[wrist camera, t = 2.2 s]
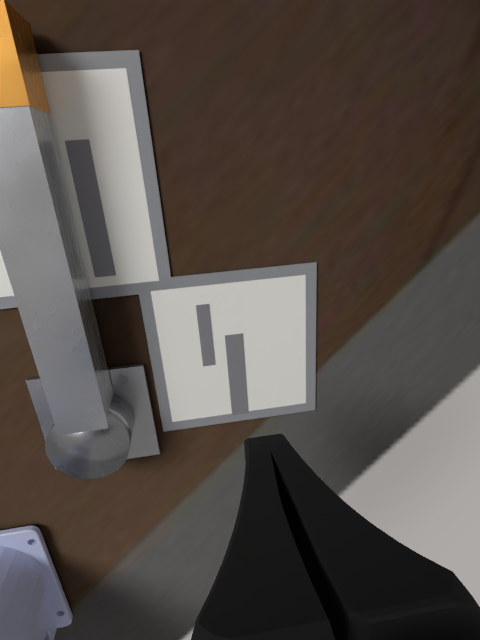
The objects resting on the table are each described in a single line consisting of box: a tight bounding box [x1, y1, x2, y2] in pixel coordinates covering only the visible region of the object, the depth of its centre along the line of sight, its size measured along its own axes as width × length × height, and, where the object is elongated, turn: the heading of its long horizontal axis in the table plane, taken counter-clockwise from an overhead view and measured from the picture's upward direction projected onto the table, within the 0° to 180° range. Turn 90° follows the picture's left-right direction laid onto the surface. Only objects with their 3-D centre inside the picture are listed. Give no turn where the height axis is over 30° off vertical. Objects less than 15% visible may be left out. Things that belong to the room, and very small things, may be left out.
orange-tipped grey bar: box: [0, 0, 134, 479], centre depth 17 cm, size 20×4×2 cm, turn 4°
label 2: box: [138, 262, 317, 432], centre depth 21 cm, size 9×9×1 cm
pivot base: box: [26, 363, 160, 470], centre depth 21 cm, size 6×6×1 cm
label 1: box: [0, 50, 173, 309], centre depth 17 cm, size 10×10×1 cm
